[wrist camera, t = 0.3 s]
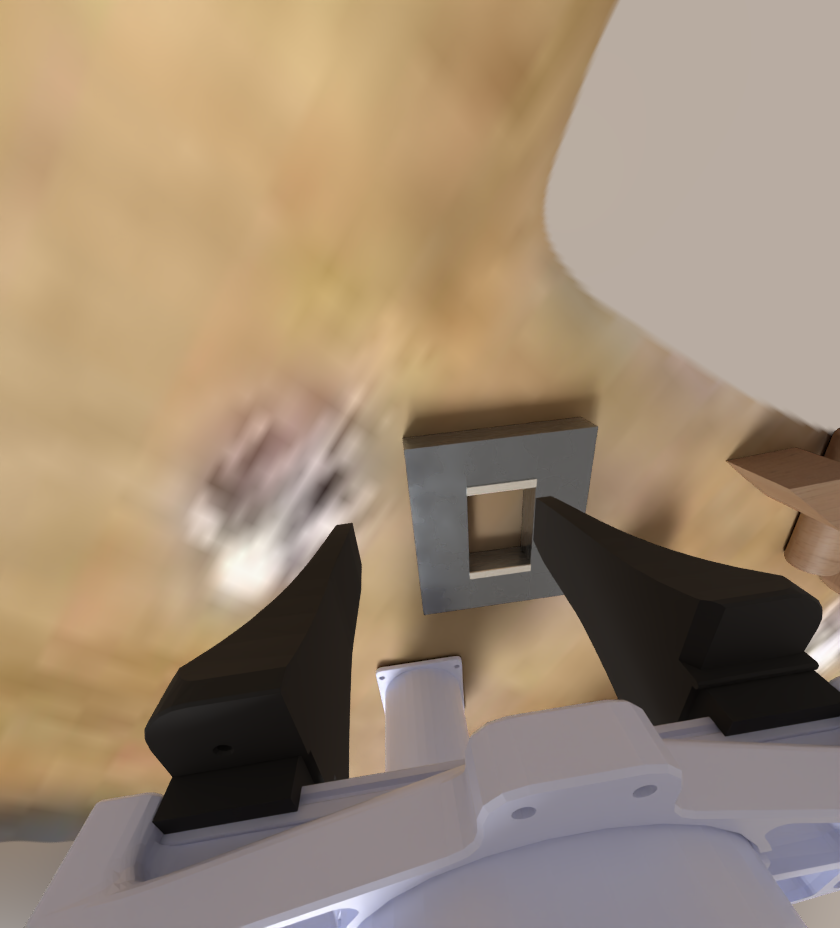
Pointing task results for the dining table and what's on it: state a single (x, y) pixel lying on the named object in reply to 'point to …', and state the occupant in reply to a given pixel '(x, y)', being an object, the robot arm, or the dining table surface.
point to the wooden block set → (804, 503)
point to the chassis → (480, 472)
